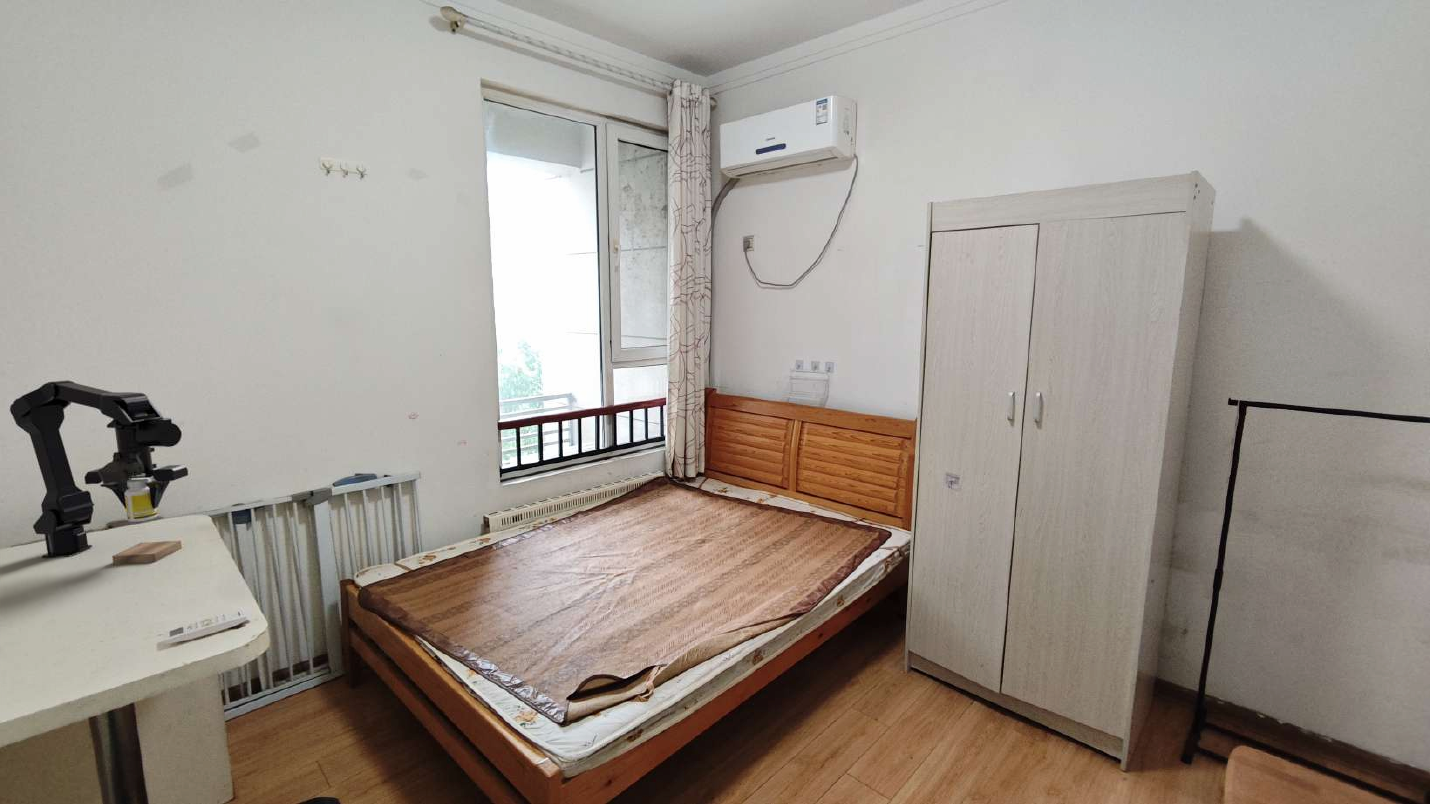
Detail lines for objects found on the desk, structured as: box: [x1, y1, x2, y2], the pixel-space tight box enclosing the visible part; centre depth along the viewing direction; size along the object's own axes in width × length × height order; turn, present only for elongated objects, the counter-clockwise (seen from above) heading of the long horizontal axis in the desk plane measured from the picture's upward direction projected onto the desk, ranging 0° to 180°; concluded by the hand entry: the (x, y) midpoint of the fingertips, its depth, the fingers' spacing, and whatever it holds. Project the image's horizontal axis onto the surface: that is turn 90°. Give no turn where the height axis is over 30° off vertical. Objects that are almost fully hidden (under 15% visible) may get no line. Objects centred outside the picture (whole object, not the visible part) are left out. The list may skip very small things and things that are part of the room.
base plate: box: [112, 540, 182, 565], centre depth 152 cm, size 9×9×2 cm
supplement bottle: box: [124, 478, 159, 523], centre depth 150 cm, size 5×5×10 cm
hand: (141, 508), depth 150 cm, fingers closed on supplement bottle, 5 cm apart
